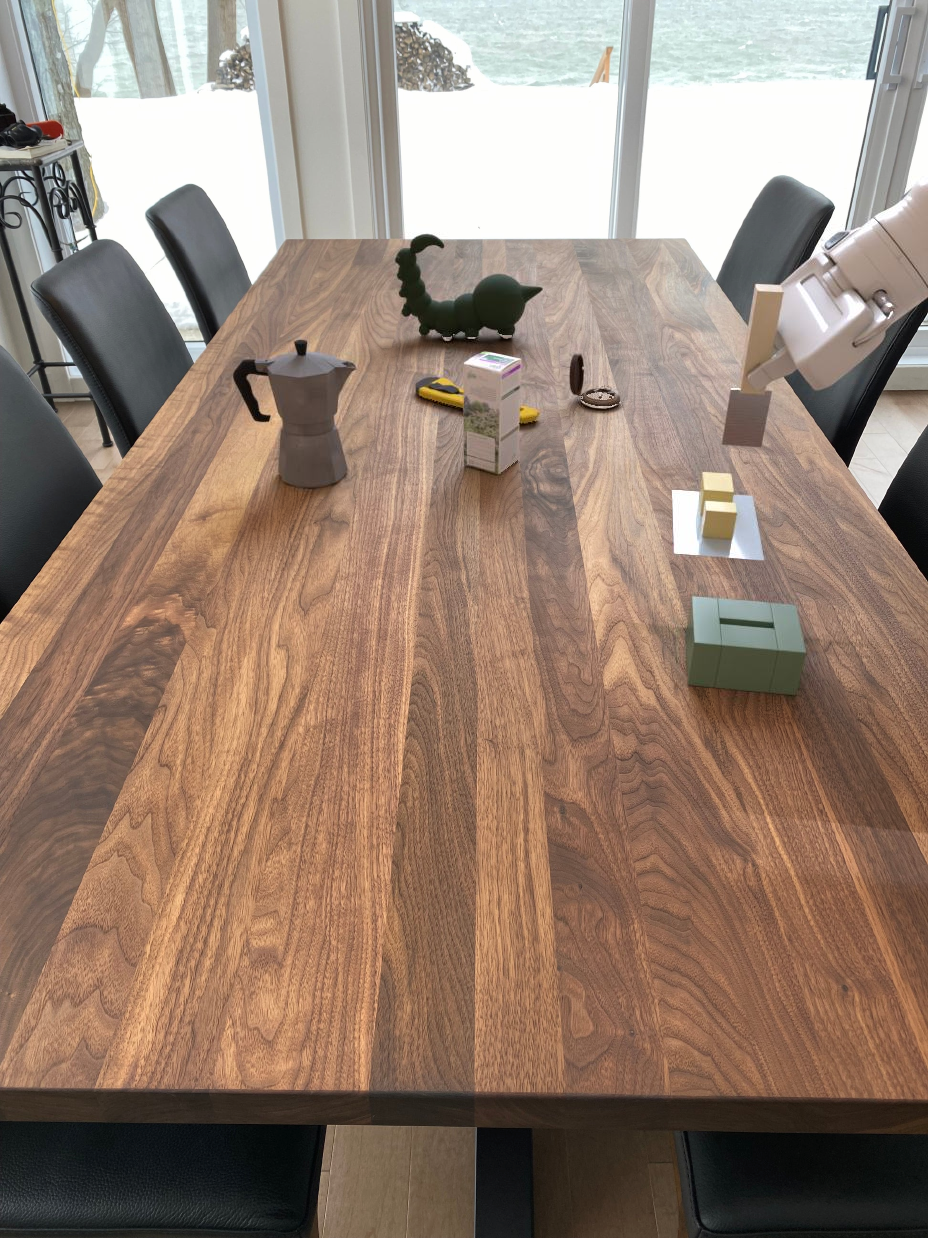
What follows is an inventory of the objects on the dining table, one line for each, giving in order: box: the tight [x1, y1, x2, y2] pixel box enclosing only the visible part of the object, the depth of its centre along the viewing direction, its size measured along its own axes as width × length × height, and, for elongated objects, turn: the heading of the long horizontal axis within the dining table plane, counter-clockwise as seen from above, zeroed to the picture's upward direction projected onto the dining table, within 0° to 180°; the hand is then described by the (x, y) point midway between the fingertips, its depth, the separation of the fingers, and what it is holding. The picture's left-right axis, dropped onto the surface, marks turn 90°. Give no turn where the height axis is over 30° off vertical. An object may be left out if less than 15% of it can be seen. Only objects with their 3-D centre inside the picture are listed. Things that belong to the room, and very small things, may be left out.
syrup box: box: [462, 351, 522, 475], centre depth 128 cm, size 6×6×14 cm
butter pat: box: [701, 501, 737, 539], centre depth 113 cm, size 4×2×4 cm
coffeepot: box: [232, 338, 357, 489], centre depth 125 cm, size 15×9×18 cm, turn 92°
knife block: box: [684, 595, 808, 696], centre depth 94 cm, size 8×10×5 cm
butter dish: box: [671, 489, 765, 562], centre depth 117 cm, size 10×16×1 cm, turn 171°
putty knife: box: [721, 283, 784, 448], centre depth 96 cm, size 4×2×16 cm, turn 81°
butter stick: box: [698, 471, 735, 516], centre depth 119 cm, size 4×5×4 cm
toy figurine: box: [394, 233, 544, 338], centre depth 170 cm, size 9×19×25 cm
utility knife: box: [414, 376, 540, 425], centre depth 149 cm, size 7×22×2 cm, turn 55°
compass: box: [568, 353, 621, 406], centre depth 149 cm, size 8×8×7 cm
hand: (747, 376), depth 97 cm, fingers closed on putty knife, 2 cm apart
